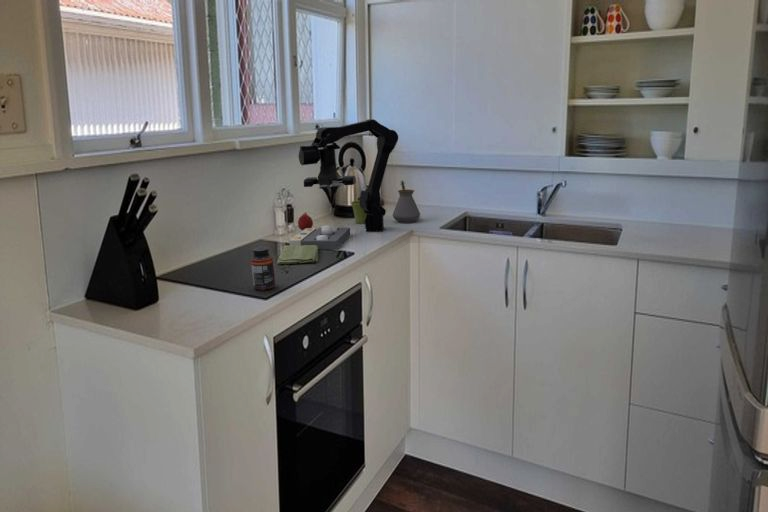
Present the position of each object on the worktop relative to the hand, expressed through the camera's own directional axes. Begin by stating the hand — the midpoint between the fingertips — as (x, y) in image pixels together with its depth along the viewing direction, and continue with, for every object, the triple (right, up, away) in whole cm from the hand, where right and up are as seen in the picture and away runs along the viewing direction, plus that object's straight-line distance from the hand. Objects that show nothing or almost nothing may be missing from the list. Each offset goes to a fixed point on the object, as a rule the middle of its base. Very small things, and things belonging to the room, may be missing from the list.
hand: (331, 204), depth 224 cm
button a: (0, -12, 0) cm, 12 cm away
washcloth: (-8, -21, -26) cm, 34 cm away
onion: (-11, -10, +11) cm, 19 cm away
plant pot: (+11, -6, +26) cm, 29 cm away
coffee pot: (+29, -4, +30) cm, 42 cm away
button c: (-2, -16, -13) cm, 21 cm away
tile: (-10, -14, -5) cm, 18 cm away
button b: (-1, -12, -7) cm, 14 cm away
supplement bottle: (-14, -28, -57) cm, 65 cm away
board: (-1, -14, -6) cm, 16 cm away
